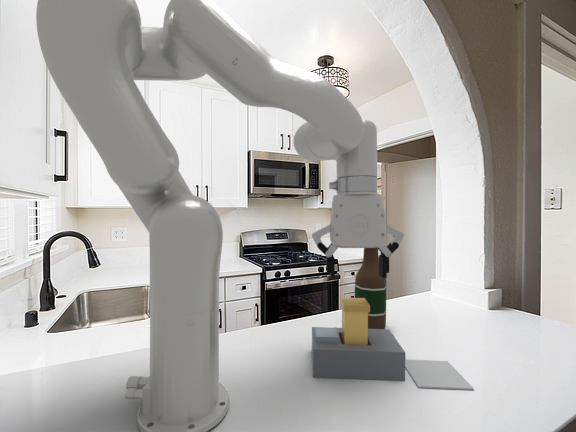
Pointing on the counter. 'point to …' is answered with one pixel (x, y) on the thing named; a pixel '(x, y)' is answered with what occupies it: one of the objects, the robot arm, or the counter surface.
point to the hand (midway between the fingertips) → (357, 276)
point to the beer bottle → (372, 288)
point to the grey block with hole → (357, 356)
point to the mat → (436, 375)
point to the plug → (354, 321)
